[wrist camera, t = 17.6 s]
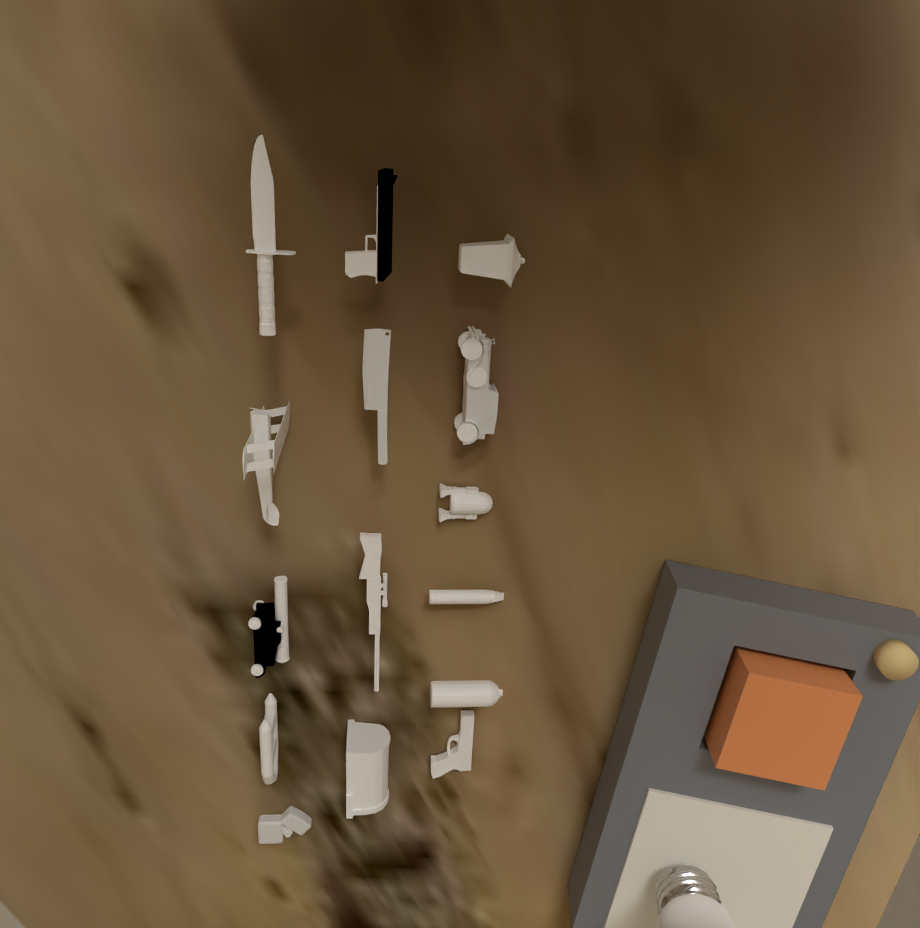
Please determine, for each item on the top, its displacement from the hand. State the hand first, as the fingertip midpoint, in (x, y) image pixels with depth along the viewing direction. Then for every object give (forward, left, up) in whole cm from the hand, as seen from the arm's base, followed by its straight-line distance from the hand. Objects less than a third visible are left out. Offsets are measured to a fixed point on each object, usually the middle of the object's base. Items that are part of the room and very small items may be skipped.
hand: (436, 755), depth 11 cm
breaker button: (+12, +16, -26) cm, 33 cm away
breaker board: (+17, +16, -27) cm, 35 cm away
